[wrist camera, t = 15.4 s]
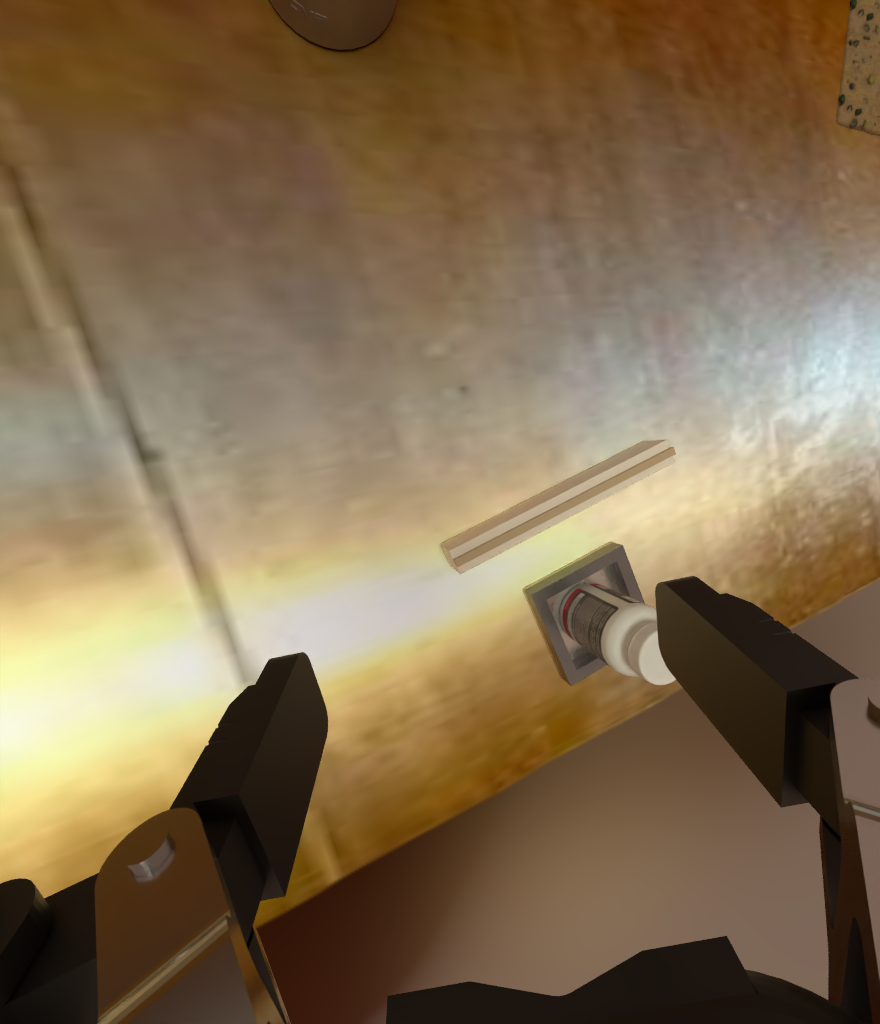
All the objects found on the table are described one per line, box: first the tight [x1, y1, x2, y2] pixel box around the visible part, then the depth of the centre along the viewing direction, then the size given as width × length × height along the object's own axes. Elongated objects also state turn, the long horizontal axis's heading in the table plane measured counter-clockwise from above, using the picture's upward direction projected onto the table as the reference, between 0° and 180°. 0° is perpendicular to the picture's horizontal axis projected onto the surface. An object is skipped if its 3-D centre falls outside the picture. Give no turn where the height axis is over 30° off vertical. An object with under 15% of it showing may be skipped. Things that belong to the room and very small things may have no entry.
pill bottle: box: [560, 582, 676, 685], centre depth 34 cm, size 5×5×10 cm
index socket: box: [523, 542, 644, 686], centre depth 39 cm, size 9×9×2 cm
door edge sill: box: [441, 440, 676, 574], centre depth 36 cm, size 20×2×3 cm, turn 115°
